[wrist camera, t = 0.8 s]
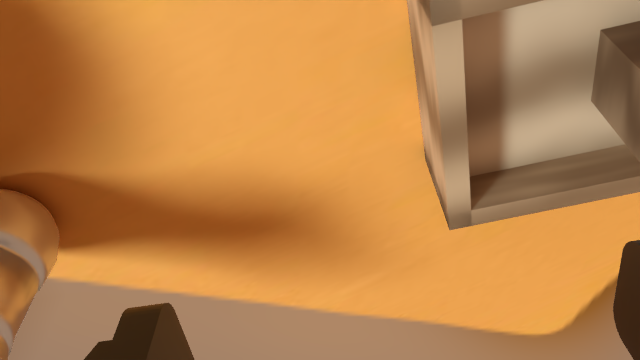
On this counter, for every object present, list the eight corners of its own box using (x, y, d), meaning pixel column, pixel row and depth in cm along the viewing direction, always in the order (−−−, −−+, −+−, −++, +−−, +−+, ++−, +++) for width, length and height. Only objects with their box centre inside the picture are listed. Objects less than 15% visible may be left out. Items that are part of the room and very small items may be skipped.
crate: (400, -56, 26) (429, -2, 21) (765, -146, 24) (878, -109, 20) (425, 160, 35) (449, 230, 30) (694, 102, 33) (761, 167, 29)
